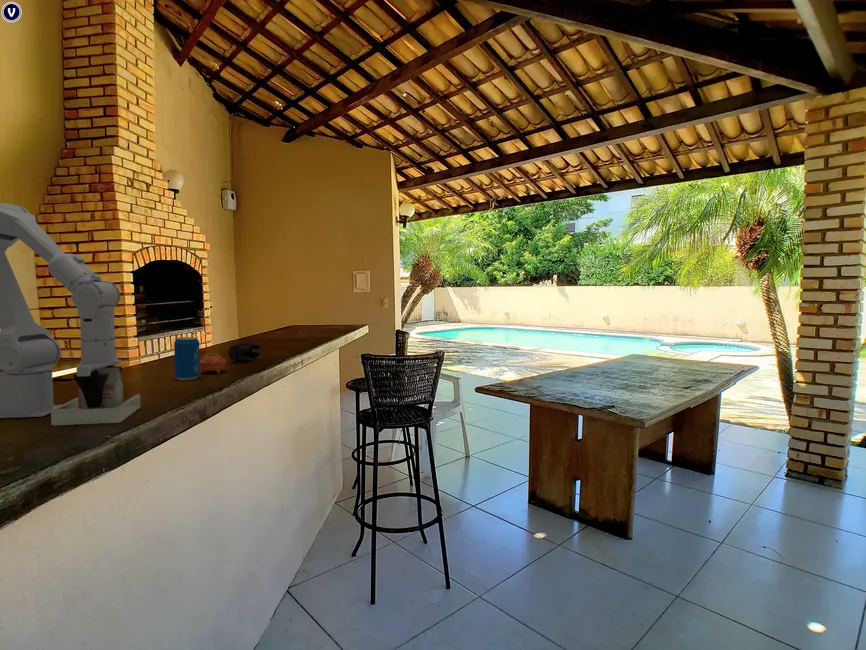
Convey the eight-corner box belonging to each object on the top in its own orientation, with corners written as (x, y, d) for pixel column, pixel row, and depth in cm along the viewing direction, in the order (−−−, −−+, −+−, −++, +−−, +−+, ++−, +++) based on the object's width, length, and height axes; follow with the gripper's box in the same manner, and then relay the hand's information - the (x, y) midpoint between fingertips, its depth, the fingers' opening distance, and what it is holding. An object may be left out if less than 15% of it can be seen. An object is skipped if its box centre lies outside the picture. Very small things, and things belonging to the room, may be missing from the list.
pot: (202, 369, 149) (207, 349, 149) (226, 375, 150) (231, 355, 149) (190, 373, 141) (196, 351, 141) (216, 379, 142) (221, 358, 141)
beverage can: (189, 381, 132) (188, 339, 131) (169, 380, 133) (168, 338, 132) (204, 377, 138) (204, 337, 137) (185, 376, 139) (185, 336, 138)
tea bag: (87, 412, 98) (85, 366, 98) (123, 411, 100) (122, 366, 99) (79, 417, 95) (77, 369, 94) (116, 416, 97) (115, 369, 96)
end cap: (241, 359, 173) (241, 341, 172) (260, 360, 172) (260, 342, 172) (227, 363, 163) (227, 344, 162) (247, 364, 162) (247, 345, 162)
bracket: (51, 425, 89) (50, 410, 89) (80, 409, 101) (79, 396, 100) (119, 422, 92) (119, 407, 92) (140, 407, 104) (140, 394, 103)
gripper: (105, 343, 90) (107, 412, 91) (132, 335, 104) (134, 395, 105) (62, 344, 88) (65, 413, 89) (96, 335, 102) (98, 396, 103)
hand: (99, 404), depth 97 cm, fingers open, 5 cm apart
